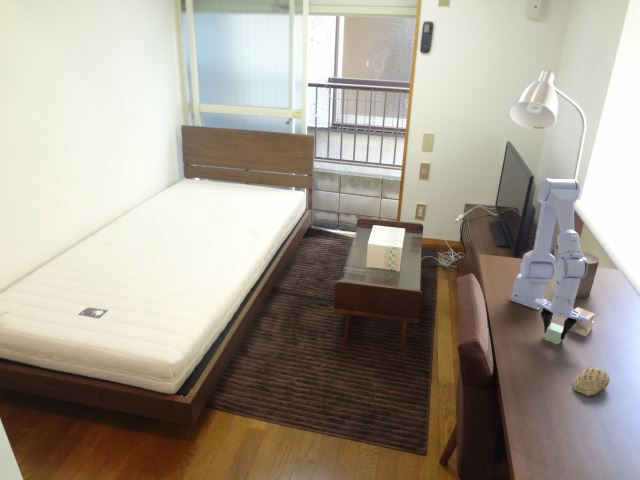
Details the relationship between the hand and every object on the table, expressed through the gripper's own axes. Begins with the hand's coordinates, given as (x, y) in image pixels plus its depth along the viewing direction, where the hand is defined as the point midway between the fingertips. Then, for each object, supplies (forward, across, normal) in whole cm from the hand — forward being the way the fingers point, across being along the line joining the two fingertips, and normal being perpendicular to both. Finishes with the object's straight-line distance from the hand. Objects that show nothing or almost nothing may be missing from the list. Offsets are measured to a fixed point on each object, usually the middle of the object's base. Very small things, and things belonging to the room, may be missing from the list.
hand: (554, 335), depth 145 cm
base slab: (+2, +4, +11) cm, 12 cm away
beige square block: (-1, +4, +11) cm, 12 cm away
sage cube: (+1, 0, 0) cm, 1 cm away
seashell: (+2, +14, -16) cm, 22 cm away
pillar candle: (+2, -4, +35) cm, 35 cm away
